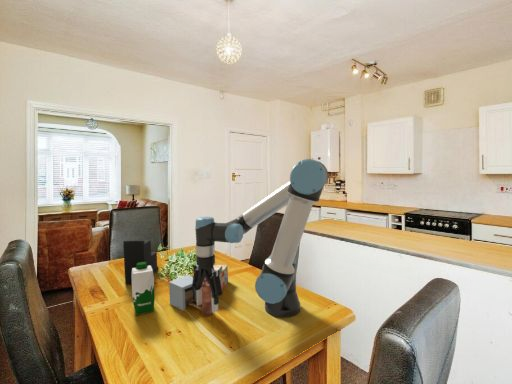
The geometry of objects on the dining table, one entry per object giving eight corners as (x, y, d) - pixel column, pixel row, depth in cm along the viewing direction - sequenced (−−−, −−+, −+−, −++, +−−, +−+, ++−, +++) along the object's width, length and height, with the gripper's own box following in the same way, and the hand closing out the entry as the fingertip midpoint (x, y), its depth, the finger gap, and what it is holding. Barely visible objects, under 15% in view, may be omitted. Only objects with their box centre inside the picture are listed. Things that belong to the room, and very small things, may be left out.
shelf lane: (201, 302, 125) (200, 280, 125) (183, 310, 118) (182, 287, 117) (188, 296, 132) (187, 275, 131) (169, 303, 124) (169, 281, 124)
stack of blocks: (217, 281, 150) (216, 259, 149) (228, 281, 149) (227, 259, 148) (202, 298, 129) (201, 273, 128) (214, 299, 128) (214, 273, 127)
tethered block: (215, 312, 116) (214, 284, 115) (205, 317, 112) (205, 288, 111) (186, 299, 129) (185, 274, 128) (177, 303, 125) (176, 277, 124)
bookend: (141, 269, 170) (139, 232, 169) (158, 269, 171) (157, 231, 169) (124, 284, 147) (122, 241, 145) (145, 284, 147) (143, 240, 146)
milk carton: (153, 303, 125) (151, 260, 124) (156, 312, 117) (154, 265, 116) (132, 307, 121) (130, 263, 120) (133, 317, 113) (131, 269, 112)
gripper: (230, 257, 109) (232, 312, 111) (196, 248, 123) (198, 297, 125) (216, 262, 104) (218, 320, 105) (182, 252, 118) (184, 303, 119)
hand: (207, 307), depth 115 cm, fingers open, 9 cm apart
